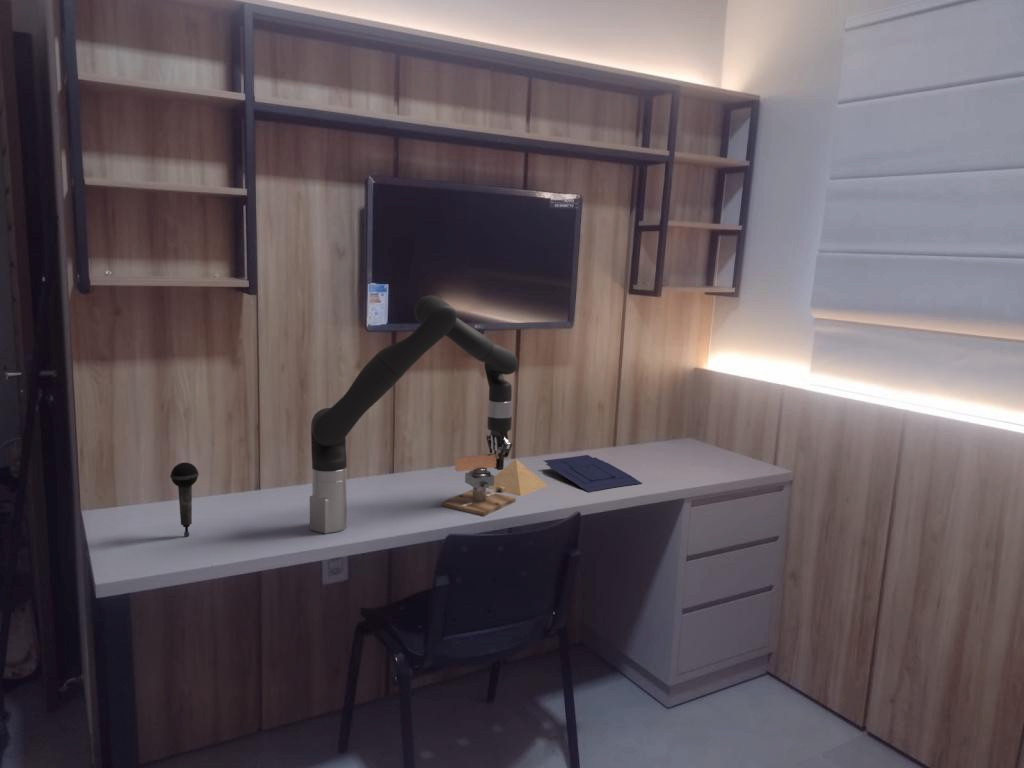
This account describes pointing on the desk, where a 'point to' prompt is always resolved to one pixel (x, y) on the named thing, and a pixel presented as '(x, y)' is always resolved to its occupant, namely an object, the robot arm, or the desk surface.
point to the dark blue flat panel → (591, 472)
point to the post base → (478, 501)
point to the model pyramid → (516, 480)
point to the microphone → (185, 490)
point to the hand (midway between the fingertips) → (498, 468)
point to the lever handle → (477, 469)
